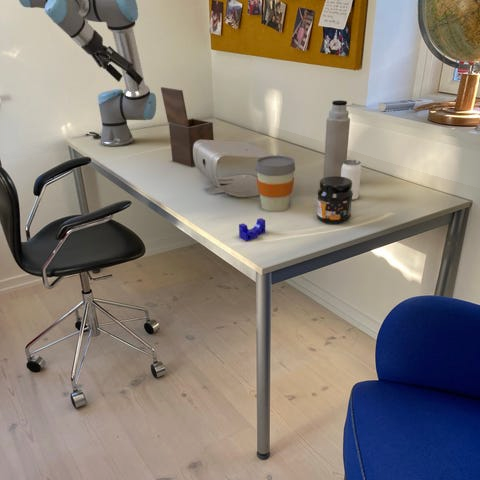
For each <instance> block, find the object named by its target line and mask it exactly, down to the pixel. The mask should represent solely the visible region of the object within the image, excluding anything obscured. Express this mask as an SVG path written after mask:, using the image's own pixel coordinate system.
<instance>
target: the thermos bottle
mask: <svg viewBox="0 0 480 480" xmlns="http://www.w3.org/2000/svg"><path fill="white" fill-rule="evenodd" d="M331 104H332V105H331V110H330V111H329V113H328V117H327V118H326V123H325V124H326V125H325V126H326V127H325V140H324V142H325V143H324V160H323V175H322V176H323V177H322V179H323V178H325V177H331V176H339V177H341V168H342V165H343V162H344V161H346V160H348V150H349V138H350V137H349V134H350V124H351V118H350V117H349V115H350V114H349V113H350V112H349V110H347V104H348V101H347V100H341V99H340V100H338V99H337V100H332V103H331Z"/></svg>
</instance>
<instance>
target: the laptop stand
mask: <svg viewBox="0 0 480 480" xmlns="http://www.w3.org/2000/svg"><path fill="white" fill-rule="evenodd" d="M250 140H251V142H250V141H237V140H236V141H233V140H216V139H214V140H198V141H196V142H195V143H194V146H193V158H194V162H195V165H196V166H195V168H196V169H197V170H198V172H199V173H200V174H201V175H203V176H204V177H205V178H206V179H207V180H209V181H210V182H211V183H213V184H214V185H215V186H210V187H207V188H206V191H208V192H209V193H210V194H212V195H219V194H225V193H226V194H227V195H229V196H231V197H237V198H253V197H258V196H259V197H260V194H259V192H258V185H257V177H258V176H255V175H252V174H247V173H246V174H236V175H230V176H224V177H220V176H219V177H218V162H219V160H220V159H221V158H223V157H230V158H231V157H234V158H251V159H259V158H262V157H266V156H280V153H279V151H277V152H276V154H275V155H274V154H273V153H271V152H269V151H267V150H265V149H264V148H261V147H260V146H259V145H256V144H255V140H254V139H250ZM203 159H205V163H203ZM204 164H205V165H204Z"/></svg>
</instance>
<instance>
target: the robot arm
mask: <svg viewBox="0 0 480 480" xmlns="http://www.w3.org/2000/svg"><path fill="white" fill-rule="evenodd" d="M18 2H19V4H20V5H21V6H22V7H23V8H31V9H33V8H39V9H44V12H45V14H46V15H47V16H48V17H49V18H50V19H51V20H52V22H53V23H54V24H56V25H57V27H59V29H61V30H62V31H63V32H65V34H67V35H68V36H69V37H70V38H71V40H72V41H74V43H76V44H77V46H80V47H81V49H82V50H83V51H84V52H85V53H86V54H87V55H90V56H91V58H92V59H93V60H94V62H95V63H96V64H97V66H98V67H99V68H102V69H103V70H105V71H106V72H107V73H108V74H109V75H110V76H112V78H114V79H115V80H116V81H117V82H118V83H120V82H121V79H122V78H123V81H124V85H125V89H124V90H123V89H122V88H118V89H117V88H116V89H110V90H106V91H103V92H100V93H99V94H98V95H97V100H98V103H97V104H98V108H99V114H100V119H101V125H102V126H101V127H102V128H101V134H99V133H97V132H95V131H89V133H90V134H87V133H86V134H85V136H89V135H93V137H92V138H93V139H100V143H101V145H103V146H105V147H122V146H127V145H130V144H132V143H134V137H133V134H132V133H131V130H130V127H129V126H128V121H150V120H152V119H154V118H155V115H156V111H157V96H156V94H155V93H154V92H151V90H150V87H149V86H148V85H147V84H146V82H145V78H144V73H143V70H142V65H141V64H142V63H141V60H140V55H139V51H138V46H137V42H136V36H135V32H134V28H135V26H136V22H137V21H138V19H139V12H138V10H139V8H138V3H137V0H18ZM89 21H90V22H94V23H105V24H106V27H107V30H108V31H110V32H112V37H113V40H114V44H115V48H116V49H114V48H113V47H112V46H110V45H109V46H106V45H104V44H103V43H104V42H103V41H104V40H103V39H104V38H103V36H102V35H101V34H100V33H99V32H98V31H97V30H96V29H94V28H93V27H92V25H91V24H89ZM115 50H116V51H115ZM112 63H113V64H114V65H115V66H117V67H118V68H120V69H121V72H120V71H119V70H118V69H116V67H114V66H113V64H112ZM100 135H101V136H100Z"/></svg>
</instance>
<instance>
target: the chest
mask: <svg viewBox="0 0 480 480" xmlns="http://www.w3.org/2000/svg"><path fill="white" fill-rule="evenodd" d="M188 123H189V127H185V126H181V125H176V124H172V123H168V129H169V139H170V150H171V160H172V161H171V162H174V163H177V164H180V165H183V166H187V167H190V168H192V167H196V165H195V162H194V158H193V146H194V143H195V142H196V141H198V140H215V138H214V122H213V121H208V120H203V119H199V118H194V117H192V118H188ZM203 164H206V163H205V159H203Z"/></svg>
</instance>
